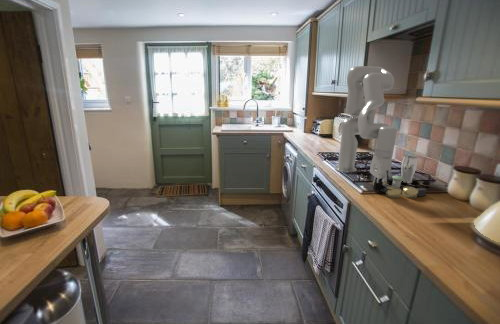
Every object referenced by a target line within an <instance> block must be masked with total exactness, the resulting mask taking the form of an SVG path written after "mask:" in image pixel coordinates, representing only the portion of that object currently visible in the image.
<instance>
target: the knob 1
mask: <svg viewBox="0 0 500 324" xmlns="http://www.w3.org/2000/svg"><path fill="white" fill-rule="evenodd" d="M381 192H382V193H385V196H386V197H387V198H389V199H396V200H398V199H401V195H402V189H401V188H400V189H399V188H397V187H392V185H391V186H389V185H387V184H386V185H384V184H382V188H381Z"/></svg>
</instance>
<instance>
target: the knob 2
mask: <svg viewBox="0 0 500 324" xmlns="http://www.w3.org/2000/svg"><path fill="white" fill-rule="evenodd" d="M402 188H403V189H402V191H401V195H402V197H404V198H406V199H413V200H414V199H417V197H425V196H426V194H427V188H422V187H421V188H415V187H414V186H407V185H406V186H403V187H402Z"/></svg>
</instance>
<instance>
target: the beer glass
mask: <svg viewBox="0 0 500 324" xmlns="http://www.w3.org/2000/svg"><path fill="white" fill-rule="evenodd" d="M418 160H419V157H418V156H415V155H410V154H409V155H408V154H405V155H403V156H402V161H401V167H400V171H401V172H400V176H401V177H403V180H401V182H402V181H403V182H402V183H406V184H412V183H413V178H414V175H415V172H416V170H417V167H418V162H419V161H418Z"/></svg>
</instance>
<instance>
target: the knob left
mask: <svg viewBox="0 0 500 324" xmlns="http://www.w3.org/2000/svg"><path fill="white" fill-rule="evenodd" d="M370 181H371V182H372V186H374V176H373V175H372V174H371V177H370ZM387 183H388V181H387V182H383V183H382V184H384V185H387Z"/></svg>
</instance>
